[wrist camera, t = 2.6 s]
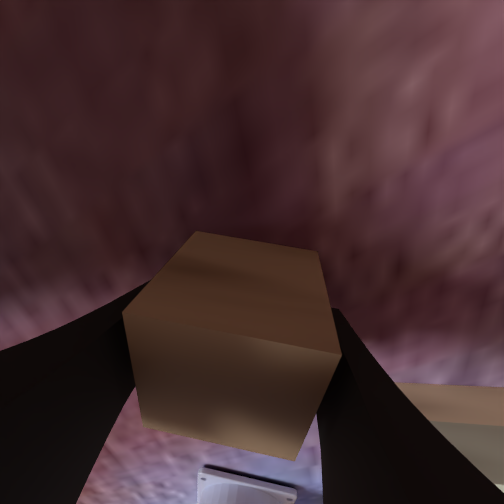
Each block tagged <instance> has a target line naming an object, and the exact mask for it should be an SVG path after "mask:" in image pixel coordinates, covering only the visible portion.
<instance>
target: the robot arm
mask: <svg viewBox="0 0 504 504" xmlns="http://www.w3.org/2000/svg"><path fill="white" fill-rule="evenodd" d="M150 281H151V280H150ZM150 281H148V282H146V283H144V284H143V285H141V286H139V287H137V288H135V289H134V290H132V291H130V292H128V293H126V294H125V295H123V296H121V297H119V298H117V299H116V300H114V301H112V302H110V303H108V304H106V305H104V306H102V307H100V308H98V309H96V310H94V311H92V312H90V313H88V314H86V315H84V316H82V317H80V318H78V319H76V320H74V321H72V322H70V323H68V324H66V325H64V326H61V327H59V328H57V329H55V330H52V331H50V332H47V333H45V334H43V335H40V336H38V337H36V338H33V339H31V340H28V341H26V342H23V343H20V344H18V345H15V346H12V347H10V348H7V349H4V350H1V351H0V504H76V502H77V500H78V498H79V496H80V494H81V491H82V489H83V487H84V485H85V483H86V481H87V478H88V476H89V474H90V472H91V470H92V468H93V466H94V464H95V462H96V460H97V458H98V456H99V454H100V451H101V449H102V447H103V445H104V443H105V441H106V439H107V437H108V435H109V433H110V431H111V429H112V427H113V425H114V423H115V421H116V420H117V418H118V416H119V414H120V412H121V410H122V408H123V406H124V404H125V403H126V401H127V399H128V397H129V396H130V394H131V392H132V391H133V389H134V388H135V386H136V385H135V379H134V374H133V369H132V363H131V358H130V353H129V347H128V342H127V336H126V331H125V326H124V320H123V315H122V312H123V310H124V309H125V308H126V307H127V306H128V305H129V304H130V303H131V302H132V301H133V299H134V298H135V297H136V296H137V295H138V294H139V293H140V292H141V291H142V290H143V288H144V287H145V286H146V285H147V284H148V283H149V282H150ZM331 311H332V315H333V319H334V323H335V328H336V332H337V336H338V341H339V345H340V349H341V353H342V356H341V358H340V360H339V363H338V365H337V367H336V369H335V372H334V374H333V376H332V378H331V381H330V383H329V385H328V387H327V390H326V392H325V394H324V396H323V399H322V401H321V403H320V406H319V408H318V410H317V412H316V415H317V422H318V429H319V437H320V448H321V463H322V483H323V504H504V493H503V492H502V491H501V490H500V489H499V488H498V487H497V486H496V485H495V484H494V483H492V482H491V481H490V480H489V479H488V478H487V477H486V476H485V475H484V474H483V473H482V472H481V471H479V470H478V469H477V468H476V467H475V466H474V465H473V464H472V463H471V462H470V461H469V460H468V459H467V458H466V457H465V456H464V455H463V454H462V453H461V452H460V451H459V450H458V449H457V448H456V447H455V446H454V445H452V444H451V443H450V442H449V441H448V440H447V439H446V438H445V437H444V436H443V435H442V434H441V433H440V432H439V431H438V430H437V429H436V428H435V427H434V426H433V424H432V423H431V422H430V421H429V420H428V419H427V418H426V417H425V416H424V415H423V414H422V413H421V412H420V411H419V410H418V408H417V407H416V406H415V405H414V404H413V403H412V402H411V401H410V400H409V399H408V398H407V397H406V395H405V394H404V393H403V392H402V391H401V390H400V389H399V387H398V386H397V385H396V384H395V383H394V381H393V380H392V379H391V378H390V377H389V375H388V374H387V373H386V372H385V371H384V369H383V368H382V367H381V366H380V364H379V363H378V362H377V361H376V359H375V358H374V357H373V356H372V354H371V353H370V352H369V350H368V349H367V348H366V346H365V345H364V344H363V342H362V341H361V340H360V338H359V337H358V335H357V334H356V333H355V331H354V330H353V328H352V327H351V326H350V324H349V323H348V321H347V320H346V319H345V317H344V316H343V314H342V313H341V312H340V310H339V309H335V308H331ZM296 499H297V491H296V490H295V489H293V488H290V487H285V486H281V485H277V484H273V483H268V482H264V481H260V480H256V479H251V478H247V477H243V476H239V475H234V474H230V473H226V472H222V471H217V470H213V469H209V468H204V467H202V468H200V469H199V472H198V493H197V504H294V503H295V501H296Z"/></svg>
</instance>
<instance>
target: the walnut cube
mask: <svg viewBox="0 0 504 504" xmlns="http://www.w3.org/2000/svg"><path fill="white" fill-rule="evenodd" d="M122 315H123V320H124V326H125V331H126V336H127V342H128V347H129V353H130V358H131V363H132V369H133V374H134V379H135V385H136V390H137V396H138V401H139V406H140V412H141V417H142V423H143V427H146V428H150V429H155V430H159V431H164V432H168V433H172V434H177V435H181V436H186V437H190V438H194V439H199V440H203V441H208V442H212V443H216V444H221V445H225V446H230V447H234V448H238V449H243V450H247V451H251V452H256V453H260V454H265V455H269V456H273V457H278V458H282V459H287V460H291V461H295V460H296V457H297V455H298V453H299V451H300V448H301V446H302V444H303V442H304V439H305V437H306V435H307V433H308V430H309V428H310V426H311V424H312V421H313V419H314V417H315V415H316V412H317V410H318V408H319V406H320V403H321V401H322V399H323V396H324V394H325V392H326V390H327V387H328V385H329V383H330V381H331V378H332V376H333V374H334V372H335V369H336V367H337V365H338V363H339V360H340V358H341V356H342V353H341V349H340V345H339V341H338V336H337V332H336V328H335V323H334V319H333V315H332V311H331V306H330V302H329V298H328V294H327V289H326V285H325V281H324V277H323V272H322V268H321V264H320V260H319V255H318V251H312V250H306V249H300V248H294V247H289V246H283V245H277V244H271V243H265V242H259V241H253V240H247V239H241V238H235V237H229V236H223V235H217V234H211V233H206V232H200V231H195V233H194V234H193V235H192V236H191V237H190V238H189V239H188V240H187V241H186V242H185V244H184V245H183V246H182V247H181V248H180V249H179V250H178V251H177V252H176V253H175V255H174V256H173V257H172V258H171V259H170V260H169V261H168V262H167V263H166V264H165V265H164V267H163V268H162V269H161V270H160V271H159V272H158V273H157V274H156V275H155V276H154V278H153V279H152V280H151V281H150V282H149V283H148V284H147V285H146V286H145V287H144V288H143V290H142V291H141V292H140V293H139V294H138V295H137V296H136V297H135V298H134V299H133V301H132V302H131V303H130V304H129V305H128V306H127V307H126V308H125V309H124V310H123V312H122Z"/></svg>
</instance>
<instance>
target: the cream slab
mask: <svg viewBox="0 0 504 504" xmlns="http://www.w3.org/2000/svg"><path fill="white" fill-rule="evenodd" d="M394 383H395V382H394ZM395 384H396V385H397V386H398V387H399V389H400V390H401V391H402V392H403V393H404V394H405V395H406V397H407V398H408V399H409V400H410V401H411V402H412V403H413V404H414V405H415V406H416V407H417V408H418V410H419V411H420V412H421V413H422V414H423V415H424V416H425V417H426V418H427V419H428V420H429V421H430V422H431V423H432V424H433V426H434V427H435V428H436V429H437V430H438V431H439V432H440V433H441V434H442V435H443V436H444V437H445V438H446V439H447V440H448V441H449V442H450V443H451V444H452V445H454V446H455V447H456V448H457V449H458V450H459V451H460V452H461V453H462V454H463V455H464V456H465V457H466V458H467V459H468V460H469V461H470V462H471V463H472V464H473V465H474V466H475V467H476V468H477V469H478V470H479V471H481V472H482V473H483V474H484V475H485V476H486V477H487V478H488V479H489V480H490V481H491V482H492V483H494V484H495V485H496V486H497V487H498V488H499V489H500V490H501V491H502V492H503V493H504V388H503V387H481V386H460V385H438V384H416V383H395Z"/></svg>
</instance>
